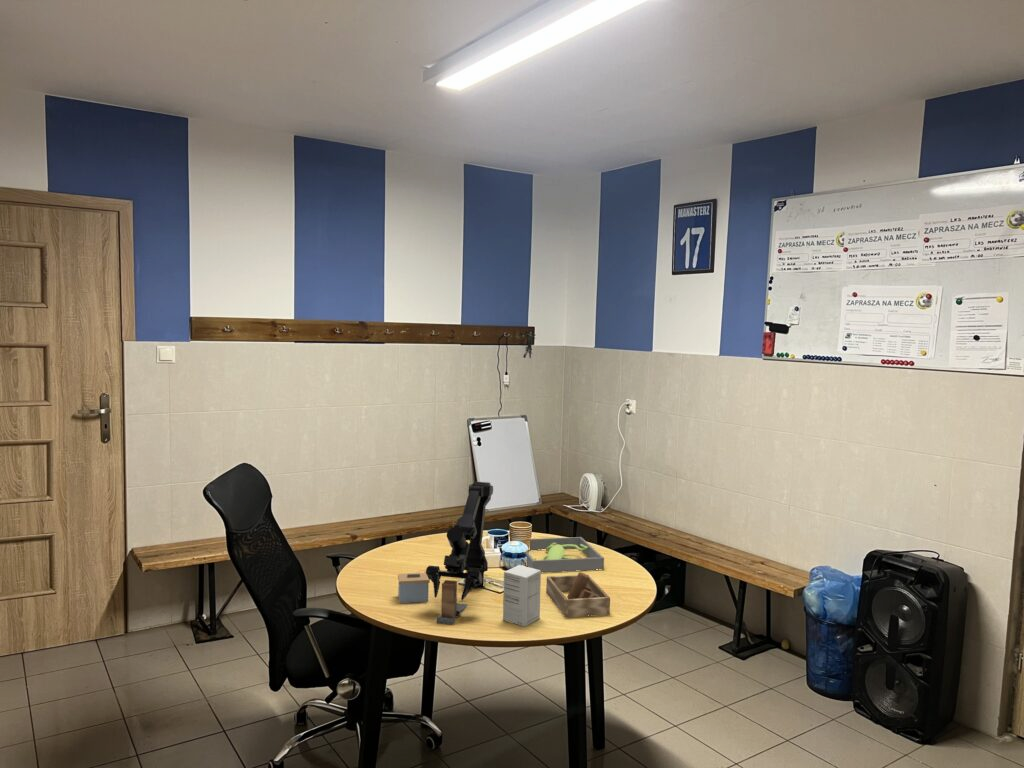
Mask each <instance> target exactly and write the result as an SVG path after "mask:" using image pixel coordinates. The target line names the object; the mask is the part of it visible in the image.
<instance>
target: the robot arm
mask: <svg viewBox="0 0 1024 768" xmlns="http://www.w3.org/2000/svg"><path fill="white" fill-rule="evenodd" d="M493 494H494V485H492V484H491V482H489V481H485V482H484V481H473V483H470V484H468V494H467V499H466V502H465V506H464V509H463V512H462V515H461V517H459V518H457V520H456V523H455V524H454V526H453V527H451V528H450V529H449V530H448V531H447V532H446V538H447V541H448V543H449V546H450V547H451V552H450V554H449V555H444V558H443V559H444V561H443V566H444V569H446V570H441V569H440V566H439V565H428V566H427V567H426V570H425V573H426V574H427V576H428V578H429V579H430V581H431V582H432V584H433V593H434V598H437V597H438V595H439V591H440V590H439V589H440V584H441V578H442V577H443V578H444V577H445V578H454V579H464V580H463V581H464V586H463V590H462V593H461V597H460V599H461V601H464V600H465V598H466V597H467V595H468V594H469V593H470V592H471V591H472V589H482V588H483V587H484V588H485V583H484V581H485V580H484V579H485V578H484V576H485V575H484V574H485V572H487V571H489V570H488V567H489V565H488V560H487V557H486V552H485V549H484V547H483V544H482V543H483V534H484V527H485V516H486V508H487V507H486V506H487V505H488V504H489V503H490V501H491V498H492V495H493ZM468 541H469V542H468ZM464 571H465V572H464ZM483 584H484V586H483Z"/></svg>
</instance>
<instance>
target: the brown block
mask: <svg viewBox="0 0 1024 768" xmlns="http://www.w3.org/2000/svg"><path fill="white" fill-rule="evenodd" d="M457 590H458V581H457V580H447V579H446V580H444V581H443V582H442V584H441V607H440V608H441V610H440V611H441V614H440V616H449V617H455V619H456V618H457V617H456V604H457V603H458V601H457V597H458V591H457Z"/></svg>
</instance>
